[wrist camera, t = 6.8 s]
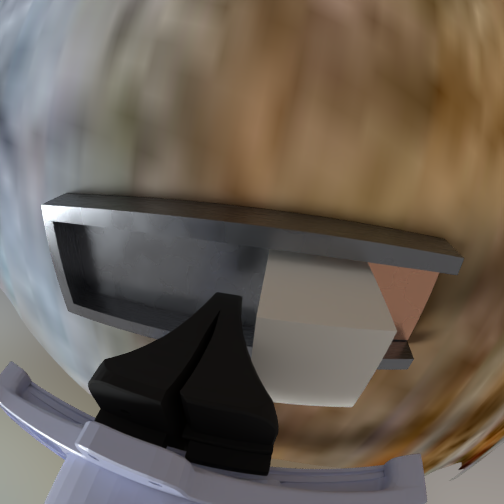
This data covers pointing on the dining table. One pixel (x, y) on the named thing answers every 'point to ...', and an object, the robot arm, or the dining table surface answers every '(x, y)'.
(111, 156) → the dining table surface
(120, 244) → the gray rectangular tray
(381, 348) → the block
